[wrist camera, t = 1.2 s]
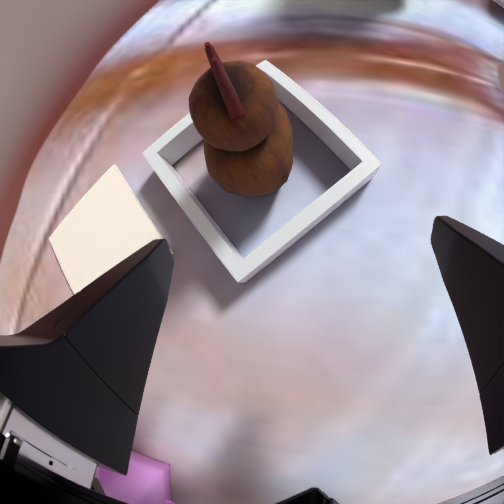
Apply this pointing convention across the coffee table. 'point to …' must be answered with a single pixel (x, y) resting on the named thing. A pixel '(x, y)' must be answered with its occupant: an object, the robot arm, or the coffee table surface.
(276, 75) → the white square tray
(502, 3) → the ink box
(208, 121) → the wooden figurine
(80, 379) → the robot arm
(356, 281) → the coffee table surface
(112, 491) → the teapot
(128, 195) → the tile
